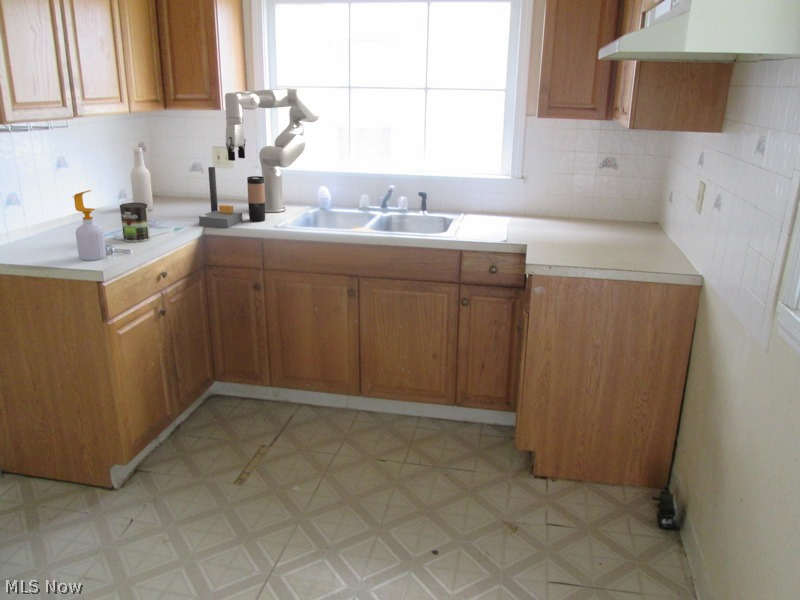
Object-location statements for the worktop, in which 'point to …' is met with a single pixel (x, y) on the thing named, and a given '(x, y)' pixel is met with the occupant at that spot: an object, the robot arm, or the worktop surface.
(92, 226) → the soap bottle
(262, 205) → the travel mug
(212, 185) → the post
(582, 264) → the worktop surface
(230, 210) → the handle
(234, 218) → the grey square slab
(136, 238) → the coffee can
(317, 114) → the robot arm
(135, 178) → the alcohol
